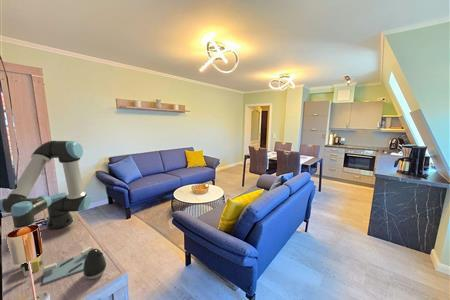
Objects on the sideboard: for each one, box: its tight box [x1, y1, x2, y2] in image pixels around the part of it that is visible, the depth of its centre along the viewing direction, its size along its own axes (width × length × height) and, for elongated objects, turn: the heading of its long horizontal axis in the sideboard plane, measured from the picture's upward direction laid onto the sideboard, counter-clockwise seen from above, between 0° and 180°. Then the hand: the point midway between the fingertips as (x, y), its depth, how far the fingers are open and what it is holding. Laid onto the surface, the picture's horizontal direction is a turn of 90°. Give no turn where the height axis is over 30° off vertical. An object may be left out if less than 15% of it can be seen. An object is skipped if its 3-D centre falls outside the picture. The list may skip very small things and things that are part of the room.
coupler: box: [19, 255, 44, 276], centre depth 104 cm, size 6×8×6 cm
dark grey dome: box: [82, 248, 107, 280], centre depth 102 cm, size 10×10×15 cm
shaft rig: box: [42, 246, 94, 286], centre depth 107 cm, size 13×22×5 cm, turn 126°
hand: (31, 266), depth 104 cm, fingers open, 13 cm apart
